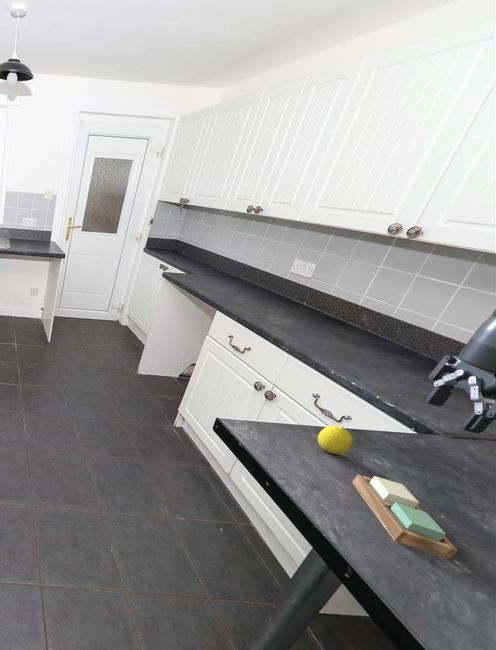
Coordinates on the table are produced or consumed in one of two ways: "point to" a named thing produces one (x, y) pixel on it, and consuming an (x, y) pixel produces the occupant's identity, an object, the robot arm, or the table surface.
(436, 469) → the table surface
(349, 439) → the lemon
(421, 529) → the sage pad
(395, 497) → the cream pad
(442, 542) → the pad holder
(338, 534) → the table surface
